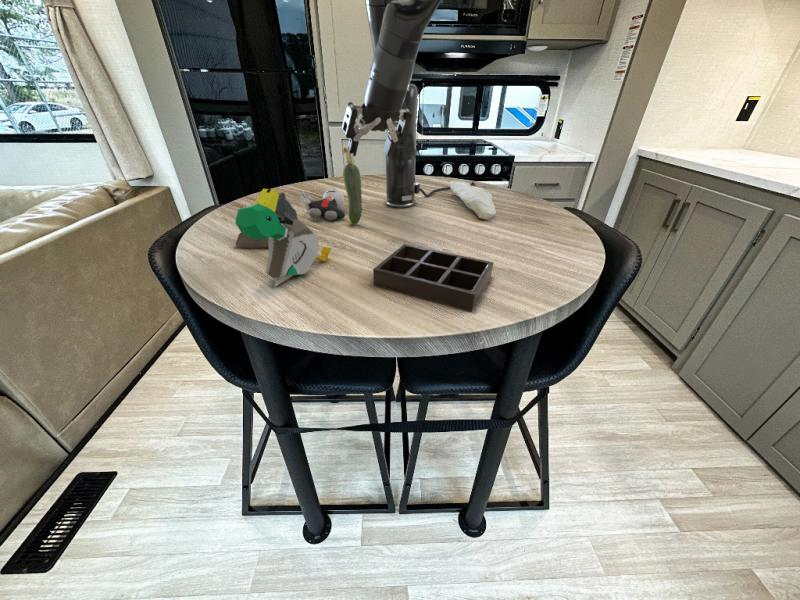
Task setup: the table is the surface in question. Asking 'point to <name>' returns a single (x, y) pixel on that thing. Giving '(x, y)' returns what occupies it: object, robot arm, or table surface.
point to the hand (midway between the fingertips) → (369, 153)
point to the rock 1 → (281, 211)
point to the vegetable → (352, 188)
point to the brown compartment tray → (434, 275)
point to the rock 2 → (475, 199)
